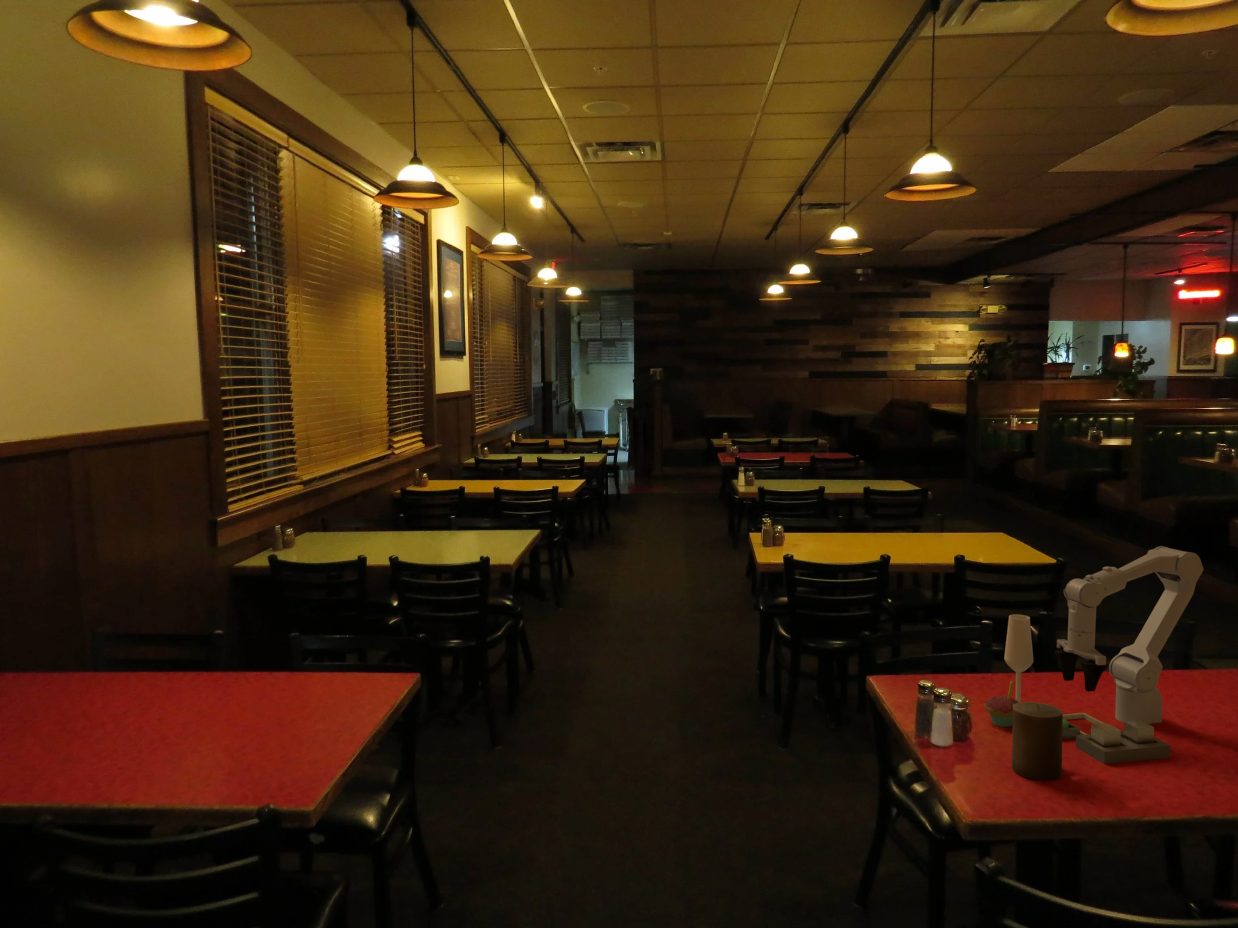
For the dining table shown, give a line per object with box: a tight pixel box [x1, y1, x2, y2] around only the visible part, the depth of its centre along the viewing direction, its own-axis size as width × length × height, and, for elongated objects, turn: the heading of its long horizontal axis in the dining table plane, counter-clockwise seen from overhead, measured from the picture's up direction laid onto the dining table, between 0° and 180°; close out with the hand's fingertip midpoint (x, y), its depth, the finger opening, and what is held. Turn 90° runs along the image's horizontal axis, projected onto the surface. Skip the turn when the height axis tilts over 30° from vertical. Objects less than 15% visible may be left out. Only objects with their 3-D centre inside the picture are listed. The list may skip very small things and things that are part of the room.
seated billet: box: [1123, 720, 1155, 745], centre depth 190 cm, size 4×4×6 cm
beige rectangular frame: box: [1063, 712, 1106, 735], centre depth 202 cm, size 9×14×2 cm, turn 9°
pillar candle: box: [1011, 701, 1064, 782], centre depth 182 cm, size 10×10×15 cm
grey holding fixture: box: [1075, 730, 1171, 765], centre depth 189 cm, size 16×9×4 cm, turn 99°
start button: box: [1062, 719, 1069, 729], centre depth 200 cm, size 4×4×4 cm
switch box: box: [1062, 721, 1081, 740], centre depth 200 cm, size 6×6×3 cm
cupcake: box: [983, 677, 1019, 728], centre depth 207 cm, size 9×8×12 cm
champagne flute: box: [1003, 614, 1034, 703], centre depth 217 cm, size 7×7×24 cm
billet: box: [1090, 723, 1122, 748], centre depth 188 cm, size 4×4×6 cm
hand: (1079, 685), depth 205 cm, fingers open, 7 cm apart
